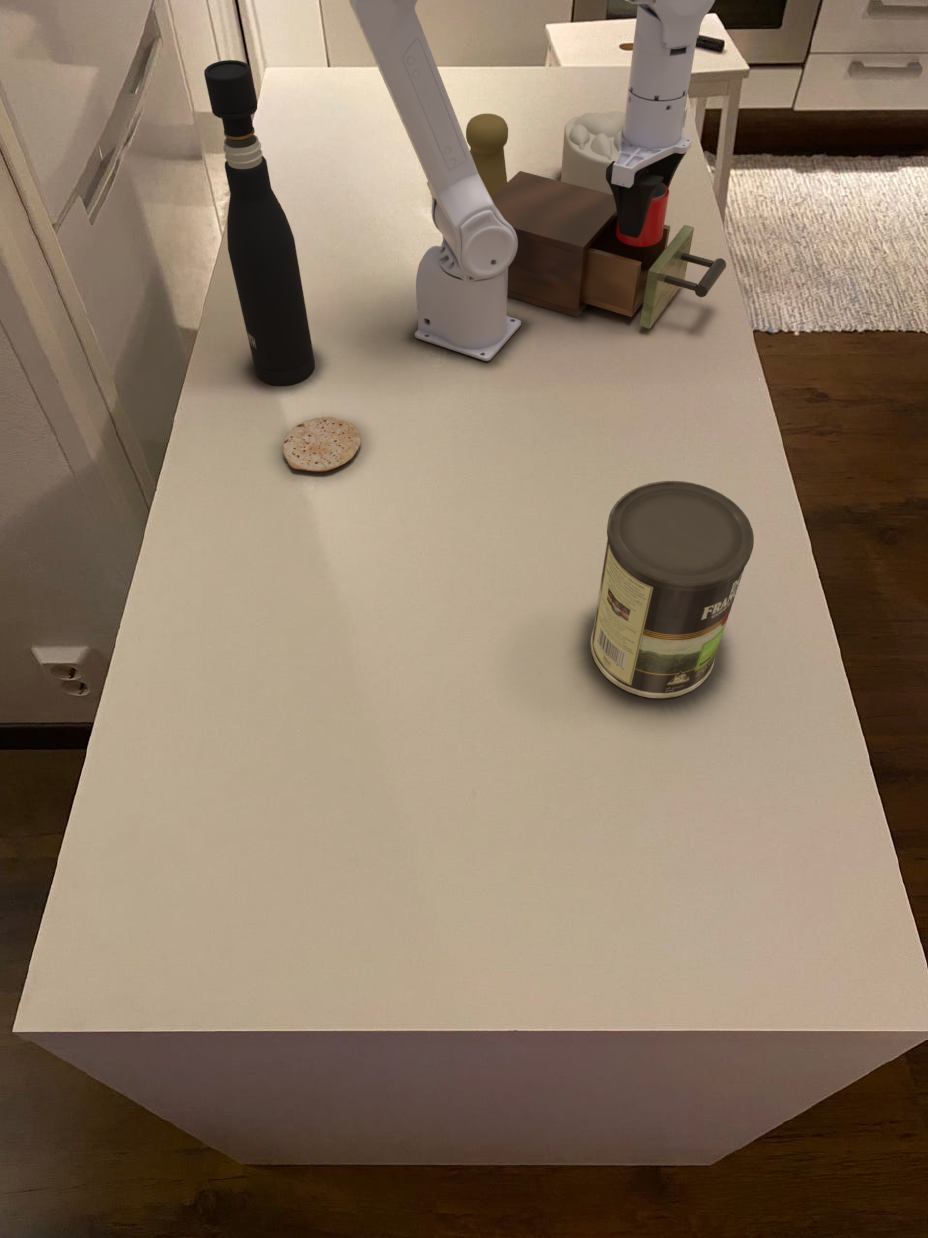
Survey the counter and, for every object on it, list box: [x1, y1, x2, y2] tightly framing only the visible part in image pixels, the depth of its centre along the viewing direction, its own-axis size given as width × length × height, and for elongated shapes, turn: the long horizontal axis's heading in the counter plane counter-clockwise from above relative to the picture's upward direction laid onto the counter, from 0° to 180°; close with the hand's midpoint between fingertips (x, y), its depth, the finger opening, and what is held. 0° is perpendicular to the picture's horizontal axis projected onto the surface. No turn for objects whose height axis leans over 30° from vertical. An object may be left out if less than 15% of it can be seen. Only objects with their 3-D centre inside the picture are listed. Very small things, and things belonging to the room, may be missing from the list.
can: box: [616, 182, 670, 247], centre depth 101 cm, size 5×5×5 cm
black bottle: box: [203, 59, 316, 387], centre depth 90 cm, size 6×6×30 cm
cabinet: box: [491, 170, 617, 318], centre depth 109 cm, size 14×12×9 cm
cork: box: [465, 113, 509, 198], centre depth 118 cm, size 6×6×11 cm
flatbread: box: [282, 416, 362, 472], centre depth 93 cm, size 8×8×1 cm
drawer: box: [581, 216, 727, 329], centre depth 106 cm, size 17×10×7 cm, turn 61°
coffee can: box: [590, 480, 755, 699], centre depth 73 cm, size 10×10×14 cm
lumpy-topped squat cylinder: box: [560, 110, 625, 195], centre depth 121 cm, size 10×13×9 cm
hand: (639, 222), depth 102 cm, fingers closed on can, 5 cm apart
